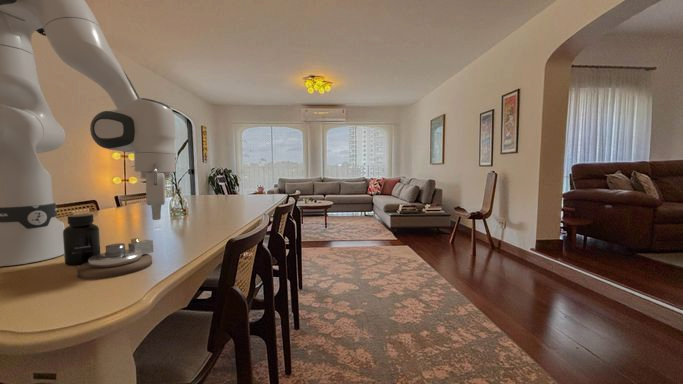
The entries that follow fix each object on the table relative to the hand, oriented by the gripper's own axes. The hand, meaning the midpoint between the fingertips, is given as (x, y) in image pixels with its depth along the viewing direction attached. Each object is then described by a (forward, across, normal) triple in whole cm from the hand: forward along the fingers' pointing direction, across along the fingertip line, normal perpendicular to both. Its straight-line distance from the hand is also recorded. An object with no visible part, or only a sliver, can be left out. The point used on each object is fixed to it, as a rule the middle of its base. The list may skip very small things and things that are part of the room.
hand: (156, 219), depth 75 cm
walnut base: (+11, -3, +8) cm, 14 cm away
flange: (+9, -2, +7) cm, 11 cm away
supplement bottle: (+11, +7, +16) cm, 21 cm away
